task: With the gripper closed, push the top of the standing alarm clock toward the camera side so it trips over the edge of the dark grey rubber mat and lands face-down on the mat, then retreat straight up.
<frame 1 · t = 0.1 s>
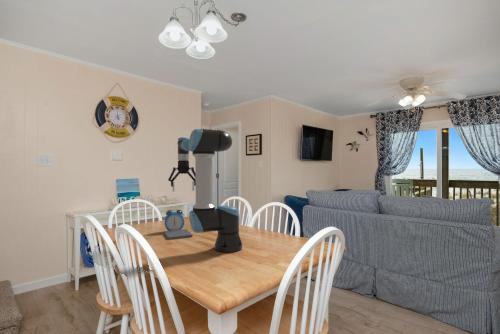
hand: (183, 191, 190), 28 cm above the table, fingers open, 13 cm apart
mat: (178, 235, 180), on the table
alarm clock: (174, 231, 191), on the table
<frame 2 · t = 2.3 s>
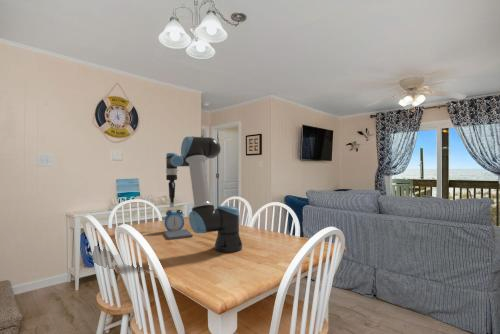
hand: (171, 207, 199), 16 cm above the table, fingers closed
nothing on the table moved.
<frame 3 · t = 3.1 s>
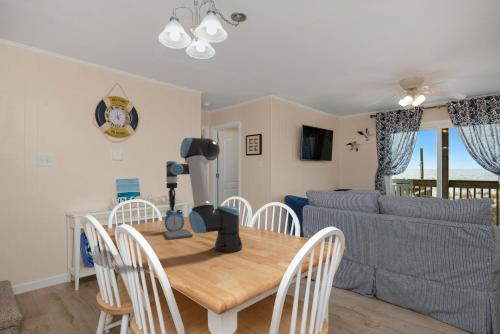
hand: (172, 215, 199), 10 cm above the table, fingers closed
nothing on the table moved.
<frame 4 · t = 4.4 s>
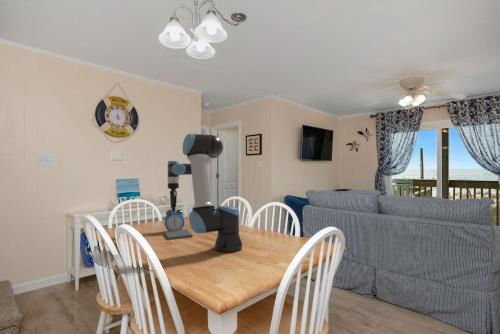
hand: (173, 216, 194), 10 cm above the table, fingers closed
alarm clock: (174, 231, 191), on the table, touching gripper
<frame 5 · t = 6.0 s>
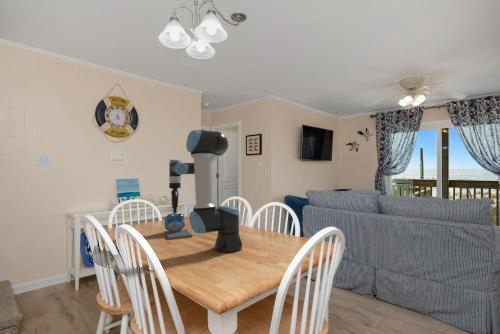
hand: (174, 216, 188), 11 cm above the table, fingers closed
alarm clock: (174, 227, 191), point 3 cm above the table, touching gripper, mat
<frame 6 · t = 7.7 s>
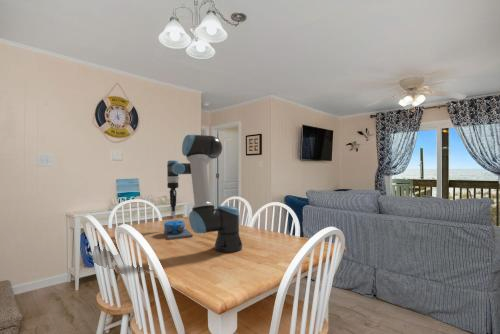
hand: (173, 215, 195), 10 cm above the table, fingers closed
alarm clock: (174, 224, 190), point 5 cm above the table, touching mat
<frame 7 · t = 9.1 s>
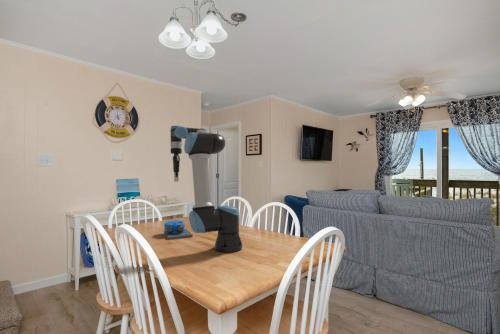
hand: (176, 181, 194), 34 cm above the table, fingers closed
nothing on the table moved.
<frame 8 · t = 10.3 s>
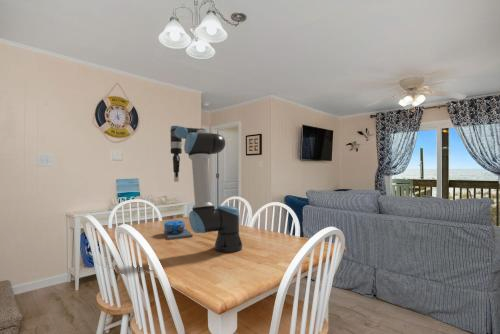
hand: (176, 181, 194), 34 cm above the table, fingers closed
nothing on the table moved.
at the end: alarm clock tilted 92°; alarm clock 11.4 cm from the mat (horizontally); the gripper is holding nothing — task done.
